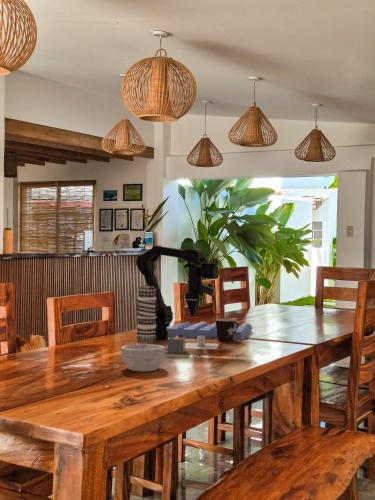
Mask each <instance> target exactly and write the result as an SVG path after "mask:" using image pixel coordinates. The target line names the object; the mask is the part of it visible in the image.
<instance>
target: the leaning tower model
mask: <svg viewBox="0 0 375 500" xmlns="http://www.w3.org/2000/svg"><path fill="white" fill-rule="evenodd" d="M137 291H138V296H137V299H135V300H136V302H137V303H136V306H137V307H136V310H137V312H136V315H137V316H136V317H137V328H136V331H137V332H136V334H137V336H136V345H137V344H151V345H155V344H156V341H157V340H156V338H157V336H156V335H155V334H156V333H157V332H155V331H156V330H157V329H156V323H155V322H156V318H157V316H155V314H157V312H156V311H155V310H157V308H155V306H157V305H158V304H157V303H156V302H158V300H157V299H156V289H155V288H154V287H153V286H147V285H141V286H140V287H139V288H138V289H137ZM157 342H158V341H157Z"/></svg>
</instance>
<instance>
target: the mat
mask: <svg viewBox="0 0 375 500" xmlns="http://www.w3.org/2000/svg"><path fill="white" fill-rule="evenodd" d="M191 354H192V353H175V354H168V352H165V358H184V359H186V358H190V356H191Z"/></svg>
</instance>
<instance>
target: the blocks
mask: <svg viewBox="0 0 375 500" xmlns="http://www.w3.org/2000/svg"><path fill="white" fill-rule="evenodd" d="M236 328H237V324H236V323H235V325H234V331H235V330H236ZM252 329H253V327H252V325H251V323H248V322H245V323H243V324H241V325H238V329H237V330H236V332H235V333H234V334H233V340H234V341H243V340H245V339H246V338H247V337H248V335H249V334H250V333H251V332H252ZM167 331H168V339H169V338H170V337H176V336H179V337H181V336H182V338H185V339H196V338H197V336H205V340H211V339H212V338H213V339H214V340H217V330H216V321H214V323H211V324H208V322H206V321H201V322H198V323H195V324H192V323H191V322H190V321H189V320H187V321H185V322H182V323H178V324H175V325H172V326H169V327H167ZM233 340H232V341H233Z"/></svg>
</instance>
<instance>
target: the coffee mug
mask: <svg viewBox="0 0 375 500" xmlns="http://www.w3.org/2000/svg"><path fill="white" fill-rule="evenodd" d="M215 322H216V330H217V339H216V340H217V341H220V342H232V341H233V334H234V333H235V332H236V330H237V329H238V327H239V323H238V322H237V321H236V319H234V318H233V319H231V318H216V319H215ZM235 324H236V325H237V328H236V330H235V331H234V325H235Z"/></svg>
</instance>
